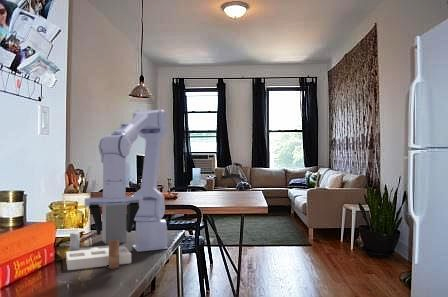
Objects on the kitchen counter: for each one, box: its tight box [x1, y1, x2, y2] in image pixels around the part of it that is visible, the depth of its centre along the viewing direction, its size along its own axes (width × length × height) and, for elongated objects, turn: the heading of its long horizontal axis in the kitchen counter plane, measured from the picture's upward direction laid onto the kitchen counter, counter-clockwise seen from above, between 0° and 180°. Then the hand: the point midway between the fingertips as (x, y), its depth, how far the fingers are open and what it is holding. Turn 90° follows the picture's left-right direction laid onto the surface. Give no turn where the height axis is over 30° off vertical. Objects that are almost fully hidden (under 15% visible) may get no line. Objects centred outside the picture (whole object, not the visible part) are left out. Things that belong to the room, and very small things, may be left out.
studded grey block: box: [68, 232, 109, 251], centre depth 114 cm, size 14×6×6 cm, turn 115°
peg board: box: [65, 245, 132, 271], centre depth 105 cm, size 16×10×2 cm, turn 115°
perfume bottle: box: [101, 202, 127, 245], centre depth 132 cm, size 7×7×18 cm
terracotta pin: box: [108, 240, 120, 270], centre depth 100 cm, size 3×3×7 cm
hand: (114, 233), depth 100 cm, fingers open, 7 cm apart
